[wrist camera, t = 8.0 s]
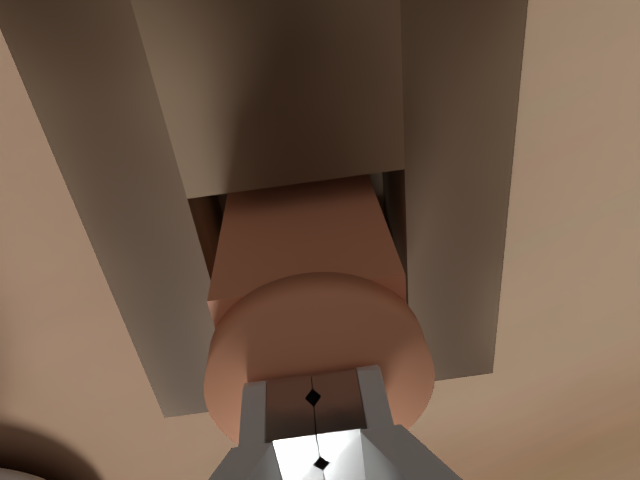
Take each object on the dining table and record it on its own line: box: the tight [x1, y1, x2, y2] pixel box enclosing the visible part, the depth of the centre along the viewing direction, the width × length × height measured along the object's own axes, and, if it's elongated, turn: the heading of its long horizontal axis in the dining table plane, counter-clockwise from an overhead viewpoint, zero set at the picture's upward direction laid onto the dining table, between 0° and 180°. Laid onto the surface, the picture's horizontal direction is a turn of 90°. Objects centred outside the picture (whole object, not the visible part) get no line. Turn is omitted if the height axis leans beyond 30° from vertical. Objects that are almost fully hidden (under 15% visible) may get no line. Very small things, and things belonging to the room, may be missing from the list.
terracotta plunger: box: [204, 174, 435, 445], centre depth 14 cm, size 5×5×7 cm
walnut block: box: [0, 0, 528, 418], centre depth 14 cm, size 12×23×5 cm, turn 7°
